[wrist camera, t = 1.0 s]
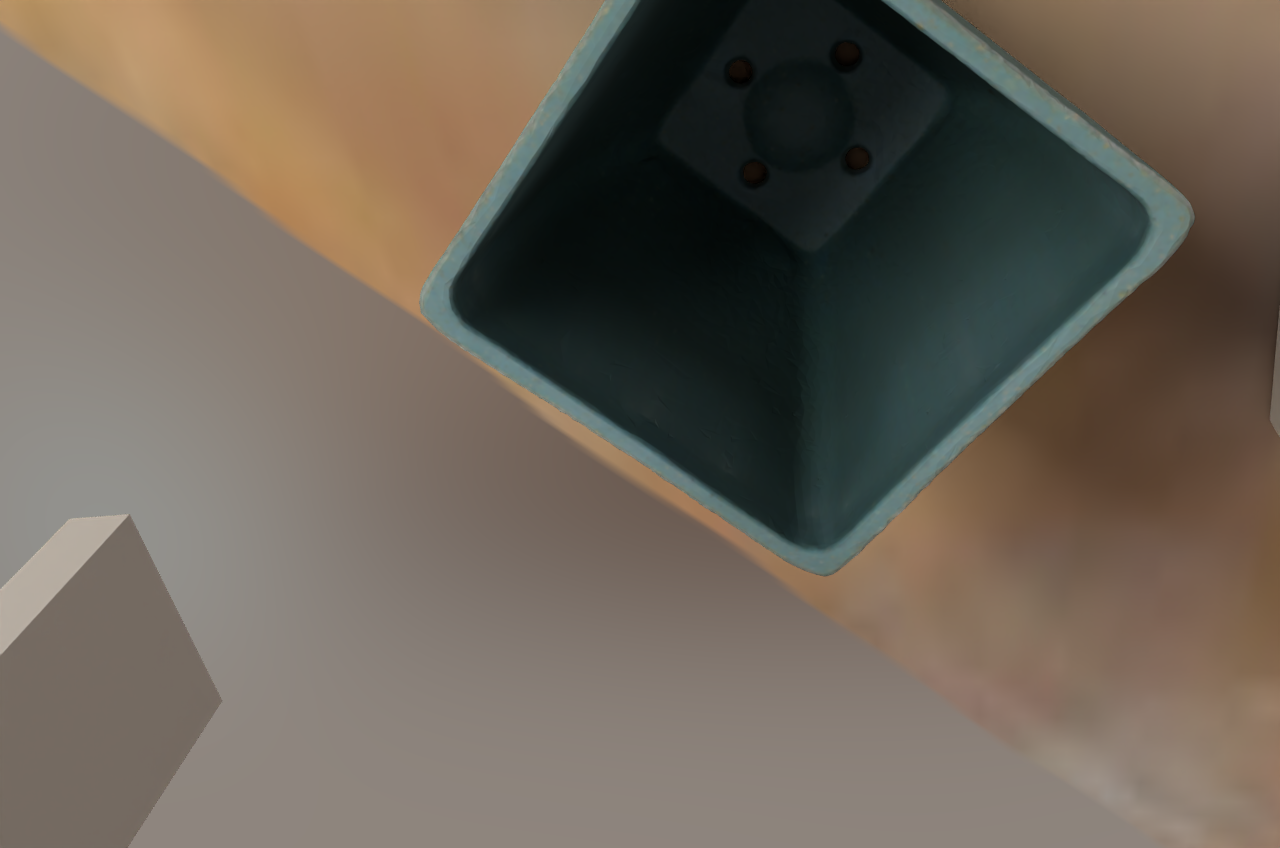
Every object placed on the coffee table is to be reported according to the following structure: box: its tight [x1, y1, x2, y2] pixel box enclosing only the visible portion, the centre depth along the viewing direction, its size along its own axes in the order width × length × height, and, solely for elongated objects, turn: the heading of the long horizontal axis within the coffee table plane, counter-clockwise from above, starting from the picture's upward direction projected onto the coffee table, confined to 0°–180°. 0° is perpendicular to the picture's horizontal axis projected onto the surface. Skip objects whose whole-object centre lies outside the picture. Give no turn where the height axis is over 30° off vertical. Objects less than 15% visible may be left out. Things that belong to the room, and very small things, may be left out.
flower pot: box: [419, 0, 1195, 576], centre depth 22 cm, size 9×9×9 cm
